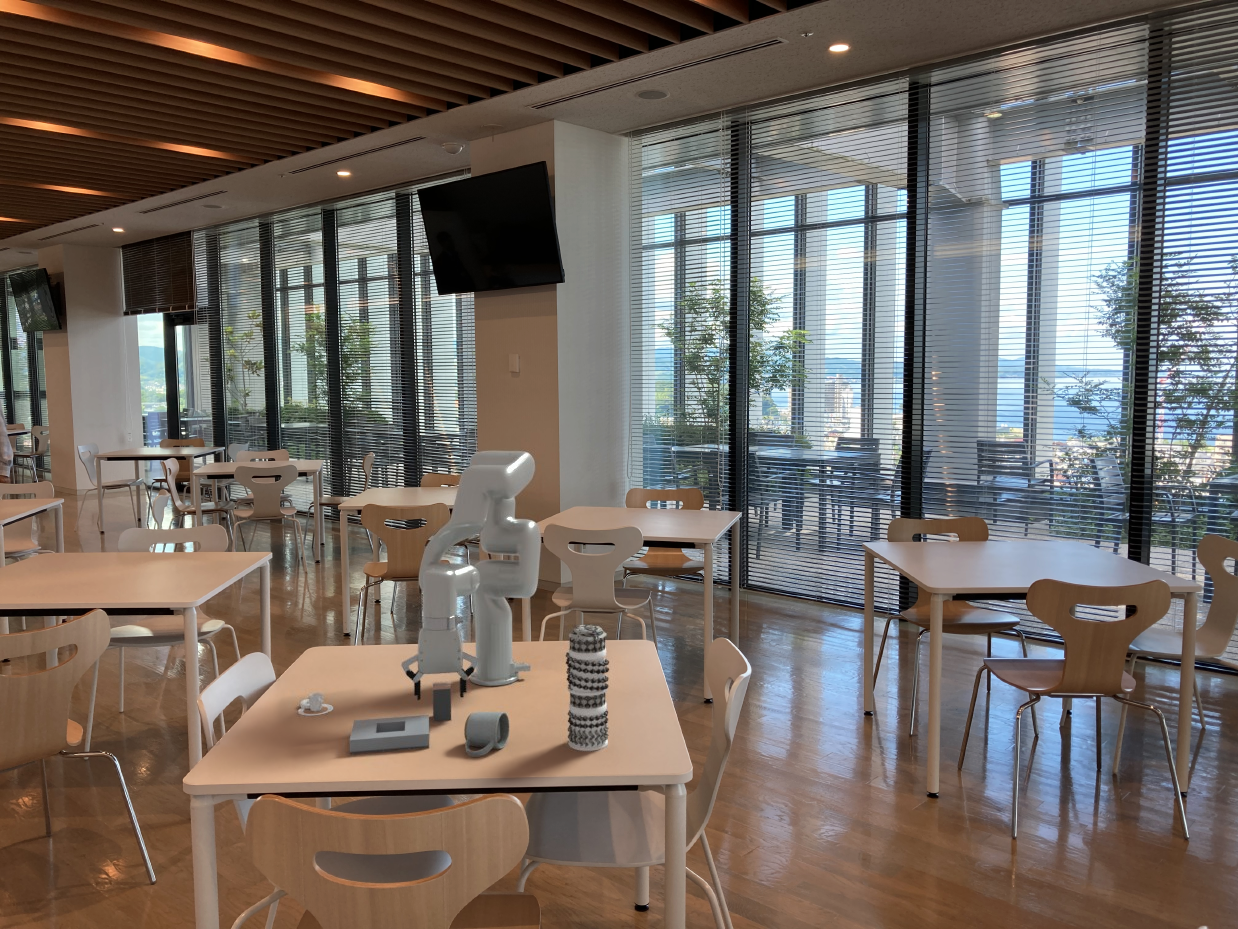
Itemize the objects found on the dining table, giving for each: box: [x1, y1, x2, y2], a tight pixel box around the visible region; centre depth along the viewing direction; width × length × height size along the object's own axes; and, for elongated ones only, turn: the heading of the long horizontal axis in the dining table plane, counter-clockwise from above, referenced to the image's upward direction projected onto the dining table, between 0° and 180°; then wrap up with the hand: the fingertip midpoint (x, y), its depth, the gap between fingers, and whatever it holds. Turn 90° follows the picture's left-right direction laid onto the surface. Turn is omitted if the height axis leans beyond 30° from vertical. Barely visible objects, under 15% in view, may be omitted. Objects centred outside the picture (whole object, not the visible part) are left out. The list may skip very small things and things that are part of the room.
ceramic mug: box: [463, 711, 510, 758], centre depth 188 cm, size 10×8×7 cm
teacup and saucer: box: [297, 692, 334, 717], centre depth 213 cm, size 9×8×4 cm
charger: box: [432, 680, 452, 723], centre depth 207 cm, size 4×4×8 cm
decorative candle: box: [565, 624, 610, 752], centre depth 190 cm, size 9×9×25 cm
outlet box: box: [349, 714, 430, 755], centre depth 193 cm, size 16×12×3 cm
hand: (440, 697), depth 206 cm, fingers open, 9 cm apart
